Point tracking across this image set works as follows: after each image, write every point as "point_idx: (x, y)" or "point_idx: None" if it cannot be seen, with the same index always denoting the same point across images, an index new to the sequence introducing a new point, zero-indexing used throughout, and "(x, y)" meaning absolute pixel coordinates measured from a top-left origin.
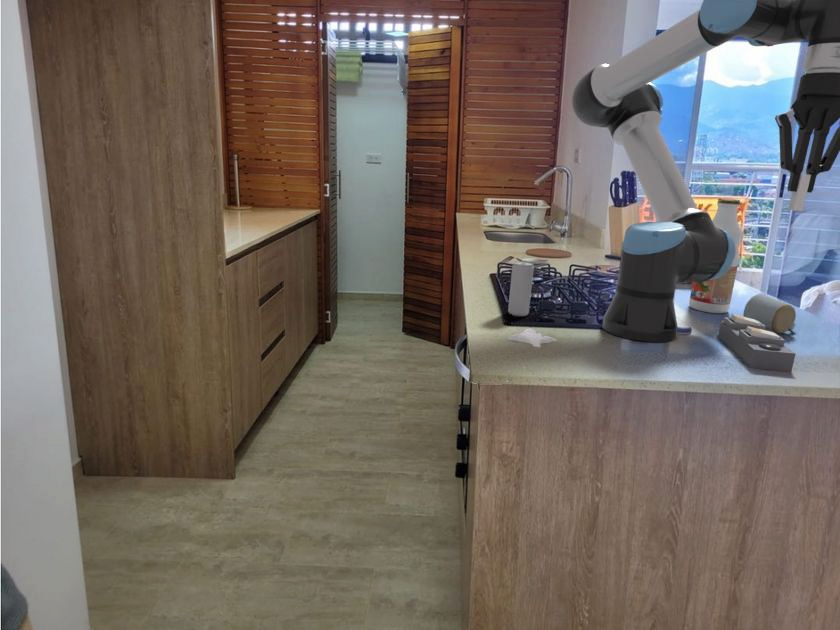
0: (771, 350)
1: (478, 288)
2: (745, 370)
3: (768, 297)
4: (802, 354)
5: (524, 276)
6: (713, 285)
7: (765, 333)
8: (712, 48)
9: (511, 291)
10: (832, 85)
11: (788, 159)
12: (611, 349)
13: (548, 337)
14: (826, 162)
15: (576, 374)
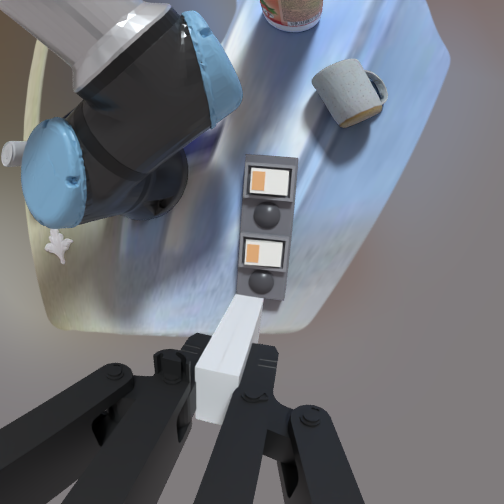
0: (257, 294)
1: (36, 67)
2: (231, 296)
3: (347, 79)
4: (340, 216)
5: (16, 165)
6: (280, 10)
7: (261, 264)
8: None
9: None
10: None
11: (105, 435)
12: (112, 255)
13: (65, 246)
14: (284, 480)
15: (91, 325)
